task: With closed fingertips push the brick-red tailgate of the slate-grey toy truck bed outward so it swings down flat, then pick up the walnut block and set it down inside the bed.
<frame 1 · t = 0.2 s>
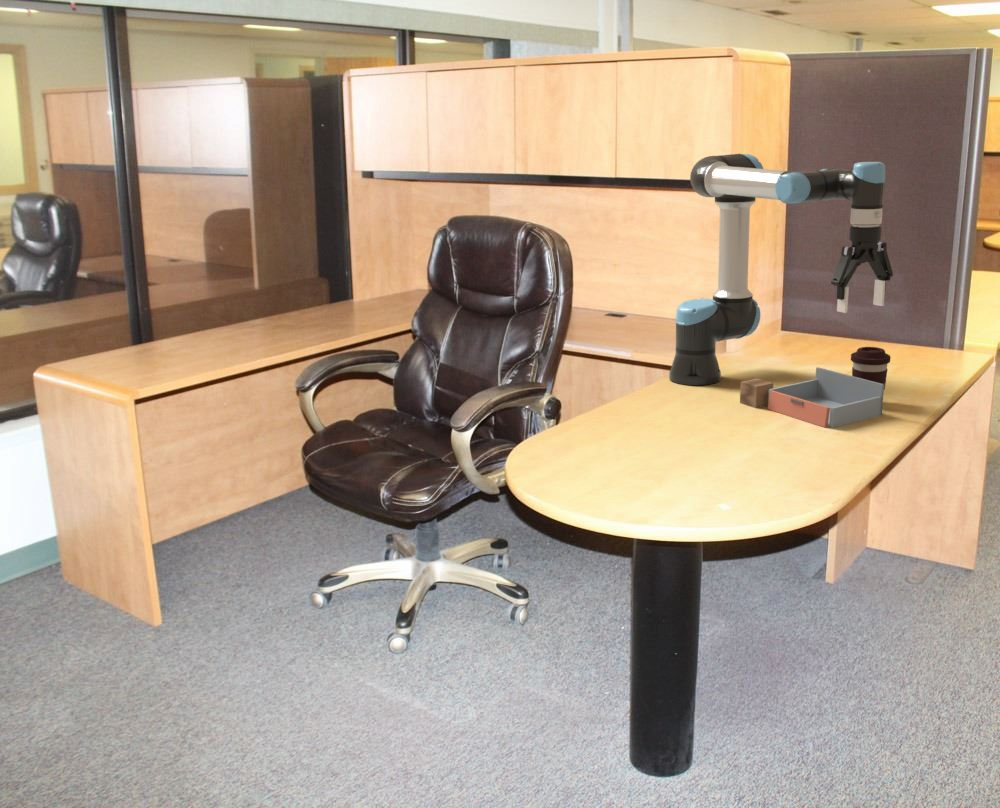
hand: (860, 308, 261), 27 cm above the table, fingers open, 13 cm apart
walnut block: (755, 407, 274), on the table
tailgate: (797, 408, 260), point 4 cm above the table, hinge at -6.0°
coffee cup: (867, 404, 274), on the table
truck bed: (823, 414, 266), on the table
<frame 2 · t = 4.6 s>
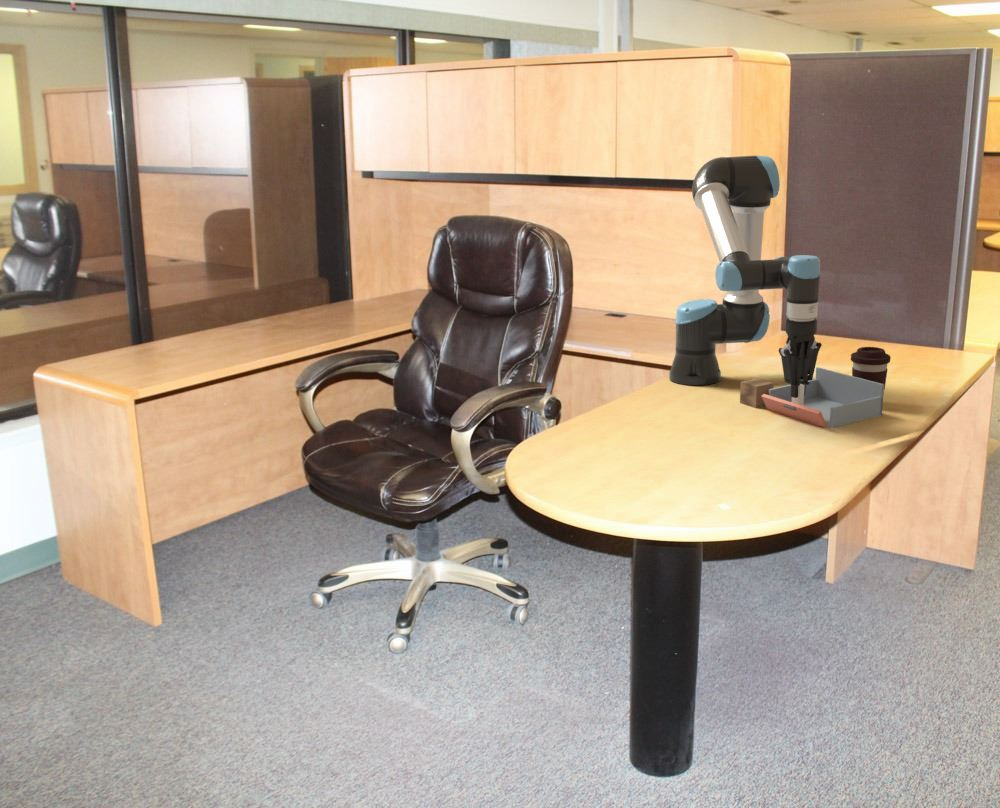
hand: (797, 408, 260), 3 cm above the table, fingers closed
tailgate: (792, 411, 260), point 3 cm above the table, hinge at 31.3°, touching gripper
everything else where it was.
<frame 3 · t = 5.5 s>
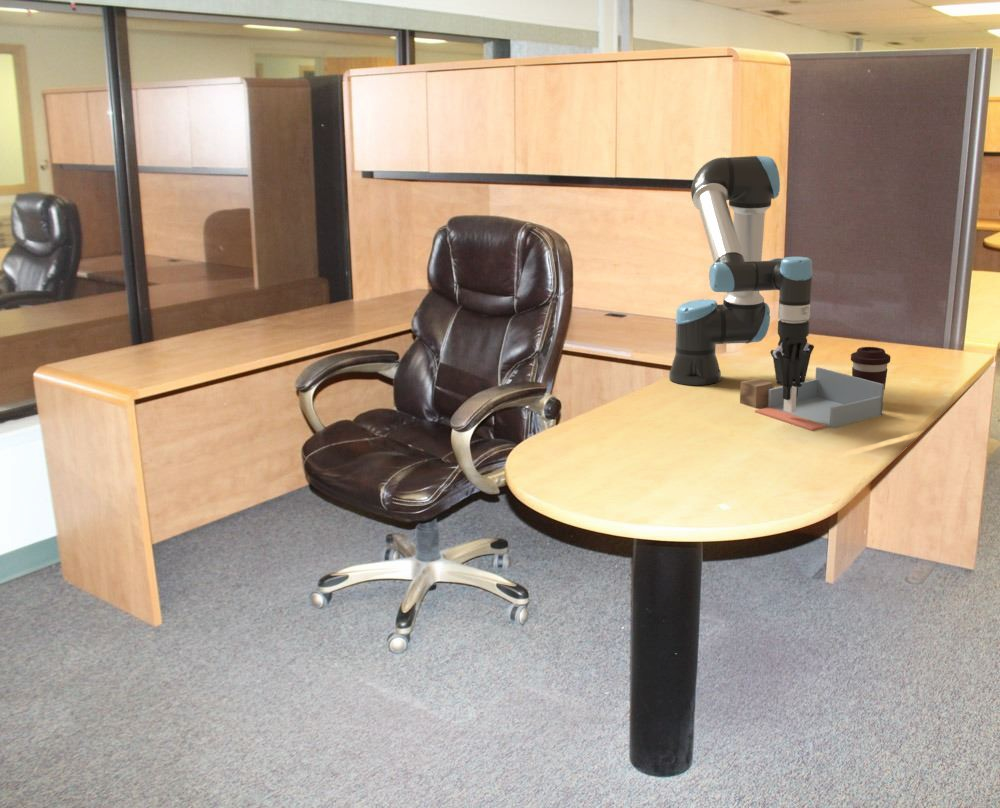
hand: (789, 411, 259), 3 cm above the table, fingers closed
tailgate: (789, 420, 260), point 1 cm above the table, hinge at 90.4°
everything else where it was.
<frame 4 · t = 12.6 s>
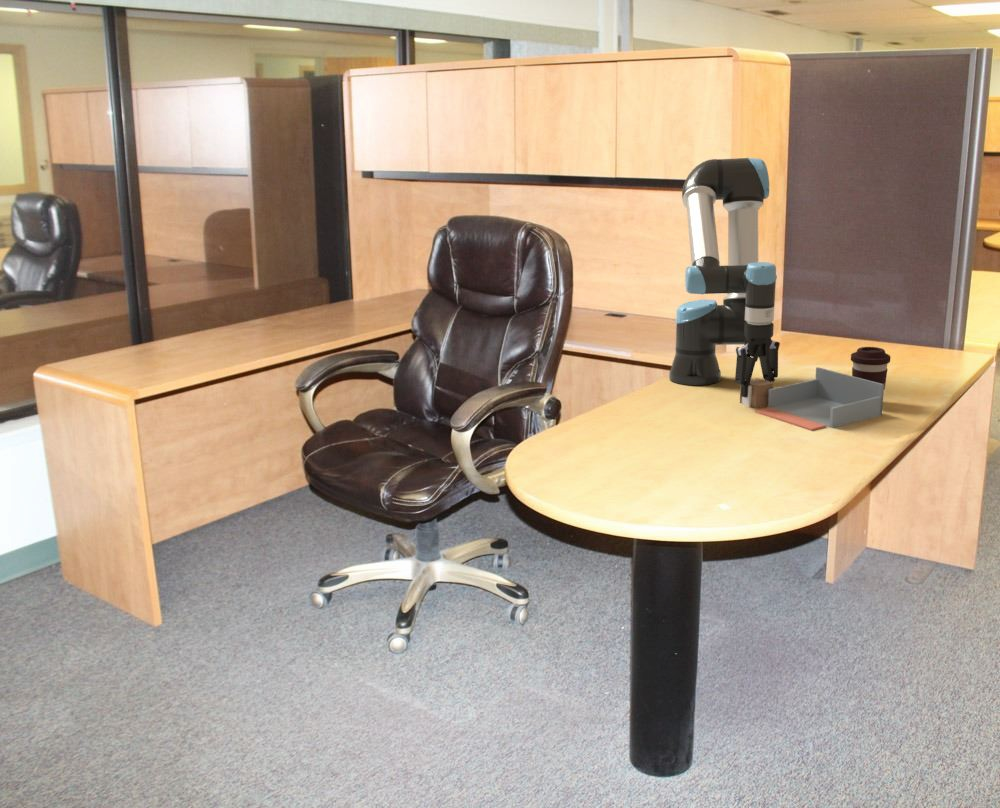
hand: (755, 405, 274), 0 cm above the table, fingers closed on walnut block, 6 cm apart
walnut block: (755, 407, 274), on the table, touching gripper
everything else where it was.
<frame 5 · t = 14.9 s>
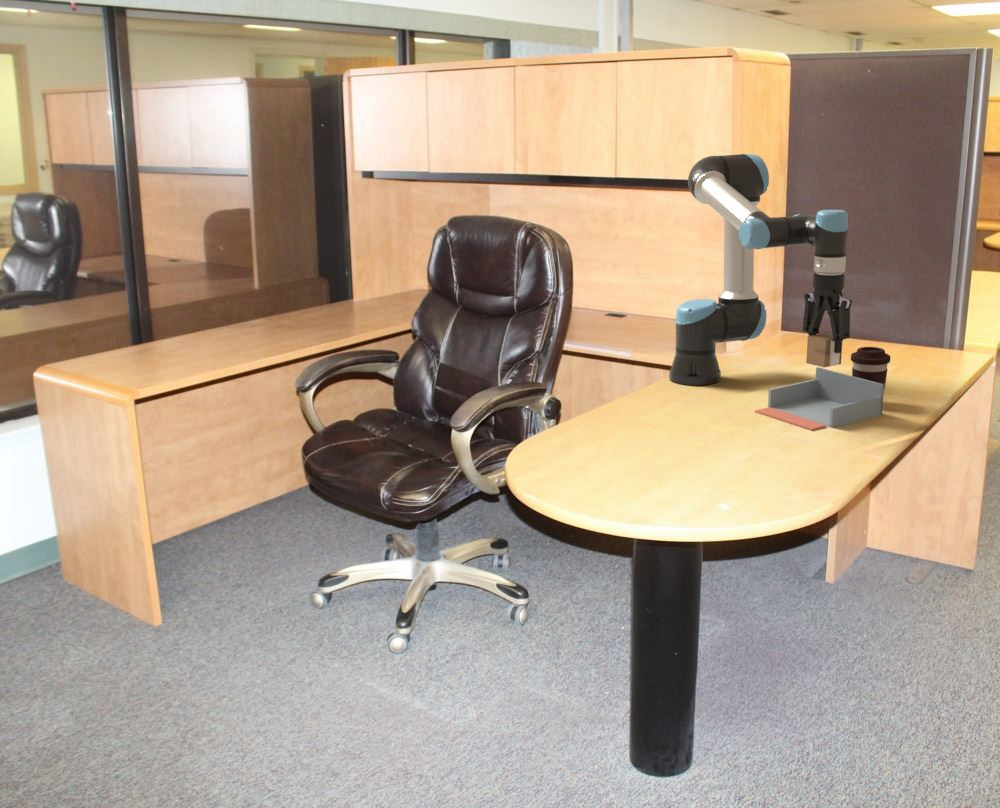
hand: (824, 362, 261), 14 cm above the table, fingers closed on walnut block, 6 cm apart
walnut block: (823, 363, 261), point 14 cm above the table, touching gripper
everything else where it was.
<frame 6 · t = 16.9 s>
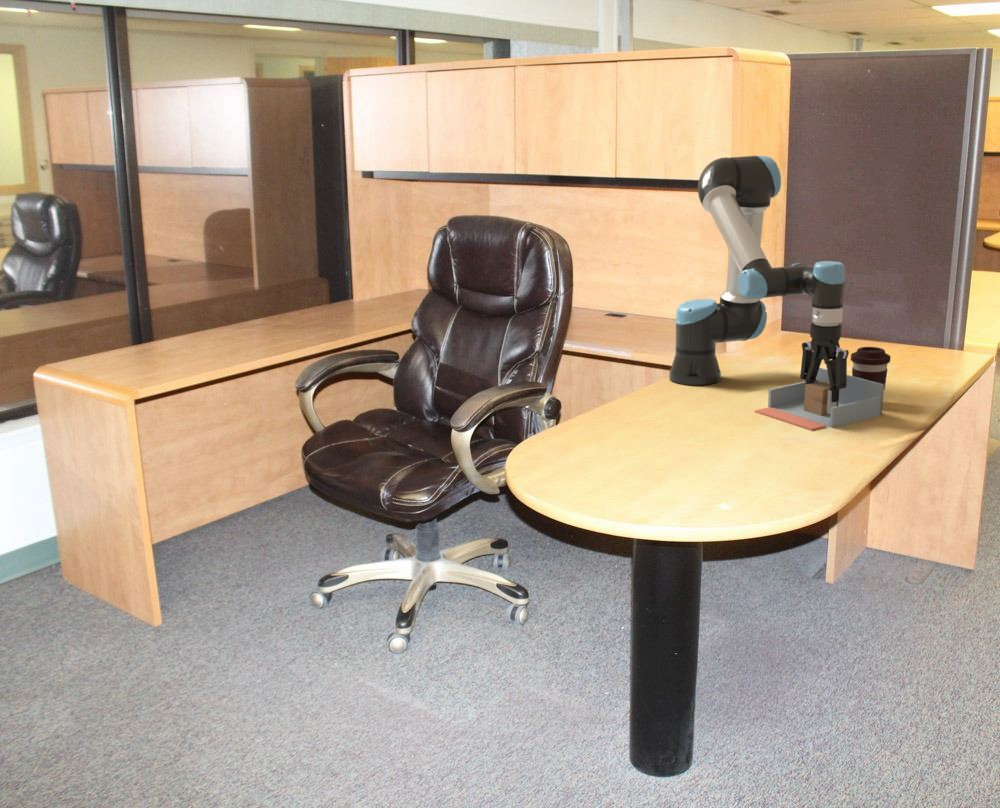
hand: (821, 410, 265), 1 cm above the table, fingers closed on walnut block, 6 cm apart
walnut block: (820, 411, 265), point 1 cm above the table, touching gripper, truck bed
everything else where it was.
when the fingers open (1 cm above the table, at t = 17.1 s): walnut block stays where it is, resting on truck bed.
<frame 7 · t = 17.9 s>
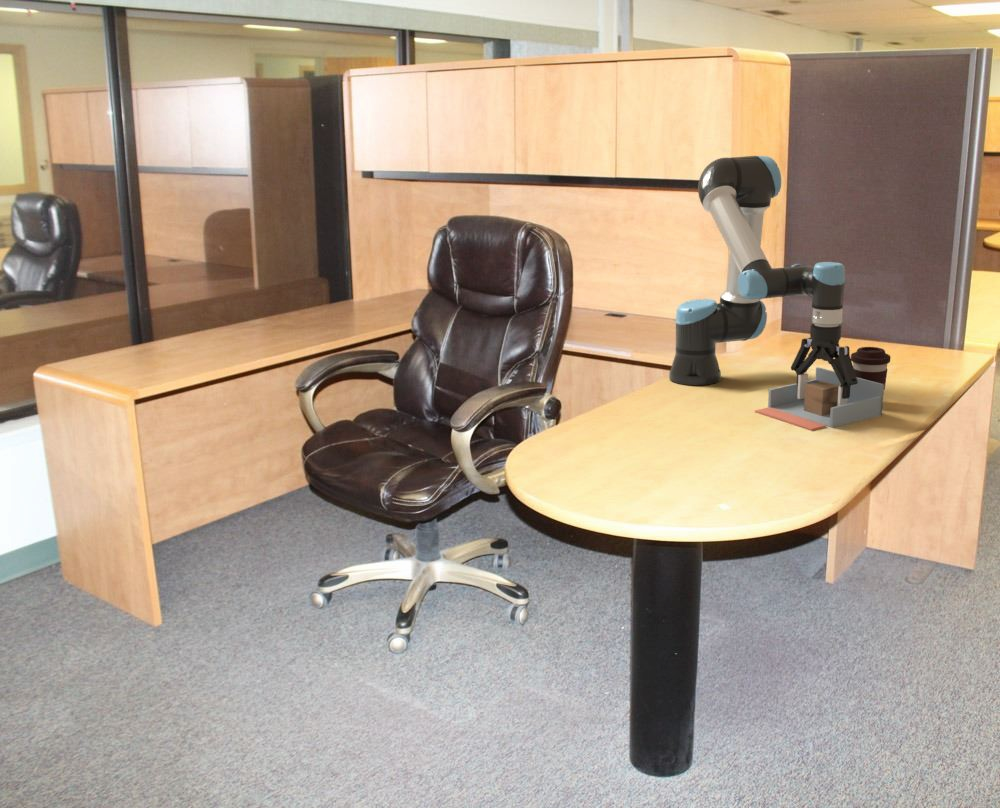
hand: (821, 404, 264), 3 cm above the table, fingers open, 13 cm apart
walnut block: (820, 411, 265), point 1 cm above the table, touching truck bed
everything else where it was.
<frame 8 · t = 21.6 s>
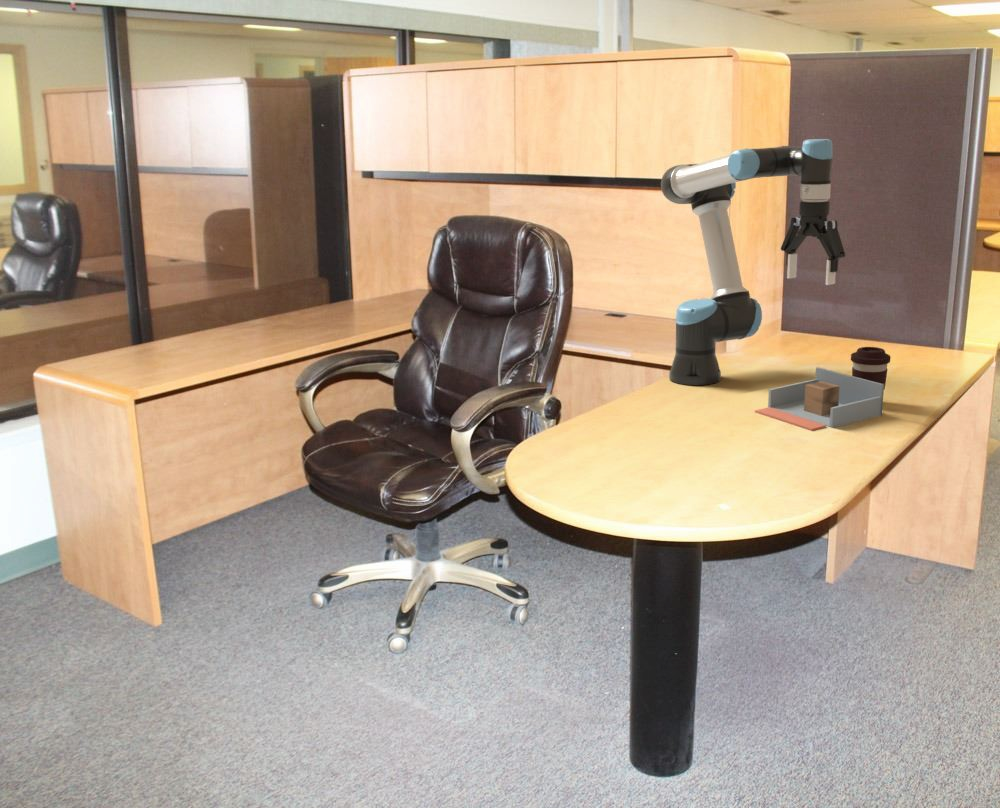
hand: (810, 281, 271), 33 cm above the table, fingers open, 13 cm apart
nothing on the table moved.
at the end: tailgate at +90° (first picture: -6°); walnut block inside the target area (0.7 cm from its centre), point 1.2 cm above the table; walnut block tilted 0° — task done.
